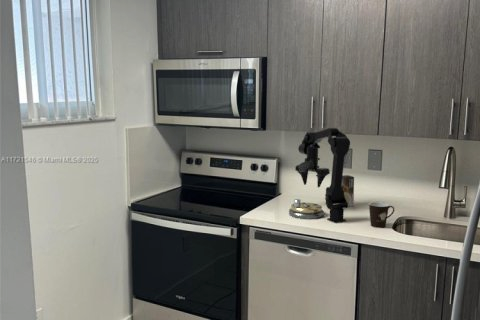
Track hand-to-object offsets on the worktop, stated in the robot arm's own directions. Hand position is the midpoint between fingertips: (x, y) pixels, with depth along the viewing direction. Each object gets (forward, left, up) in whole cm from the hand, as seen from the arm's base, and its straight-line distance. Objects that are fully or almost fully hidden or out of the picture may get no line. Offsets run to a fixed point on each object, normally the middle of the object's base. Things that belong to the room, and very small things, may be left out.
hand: (311, 186), depth 228 cm
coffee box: (-2, -19, -12) cm, 23 cm away
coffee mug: (-40, -11, -12) cm, 43 cm away
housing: (-9, +9, -12) cm, 17 cm away
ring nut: (-9, +9, -10) cm, 16 cm away
